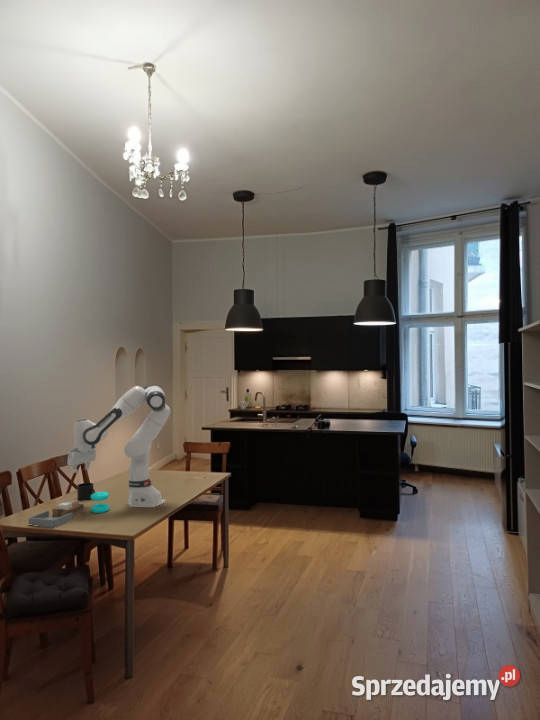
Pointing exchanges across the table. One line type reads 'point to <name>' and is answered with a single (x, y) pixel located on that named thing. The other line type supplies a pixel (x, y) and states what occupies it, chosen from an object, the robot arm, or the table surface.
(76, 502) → the tile rear
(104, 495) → the donuts
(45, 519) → the tray
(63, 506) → the tile front
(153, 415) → the robot arm
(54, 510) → the bench
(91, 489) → the mug
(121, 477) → the table surface
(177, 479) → the table surface
